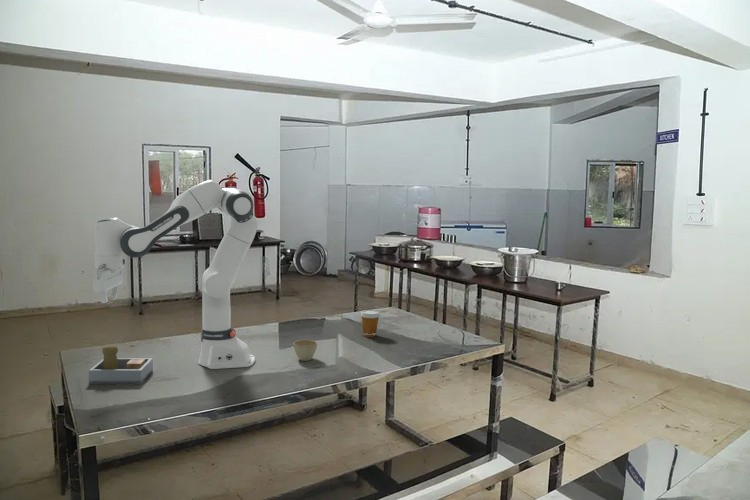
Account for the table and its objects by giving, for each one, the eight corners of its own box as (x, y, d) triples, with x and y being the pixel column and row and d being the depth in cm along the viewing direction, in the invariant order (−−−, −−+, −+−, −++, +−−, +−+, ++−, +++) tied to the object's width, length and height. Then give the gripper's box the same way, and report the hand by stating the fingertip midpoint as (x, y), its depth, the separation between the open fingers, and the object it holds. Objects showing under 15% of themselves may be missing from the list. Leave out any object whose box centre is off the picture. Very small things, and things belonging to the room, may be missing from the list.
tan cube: (145, 372, 208) (144, 359, 207) (140, 376, 203) (140, 363, 202) (131, 372, 207) (131, 359, 206) (126, 376, 202) (126, 363, 202)
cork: (112, 377, 200) (111, 348, 199) (97, 376, 202) (97, 347, 200) (123, 372, 206) (122, 344, 205) (108, 371, 207) (108, 342, 206)
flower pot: (321, 357, 236) (321, 341, 235) (308, 364, 227) (309, 347, 226) (301, 354, 240) (301, 338, 239) (288, 360, 231) (288, 343, 230)
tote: (152, 370, 212) (152, 358, 212) (141, 383, 198) (141, 370, 198) (104, 370, 210) (103, 358, 210) (89, 383, 197) (88, 370, 196)
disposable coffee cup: (378, 338, 269) (379, 314, 268) (359, 337, 269) (360, 313, 268) (379, 333, 278) (379, 310, 277) (360, 332, 279) (361, 309, 277)
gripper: (106, 266, 189) (107, 306, 191) (127, 259, 209) (127, 294, 211) (87, 266, 189) (88, 306, 190) (110, 258, 209) (110, 294, 210)
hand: (109, 300), depth 201 cm, fingers open, 8 cm apart
